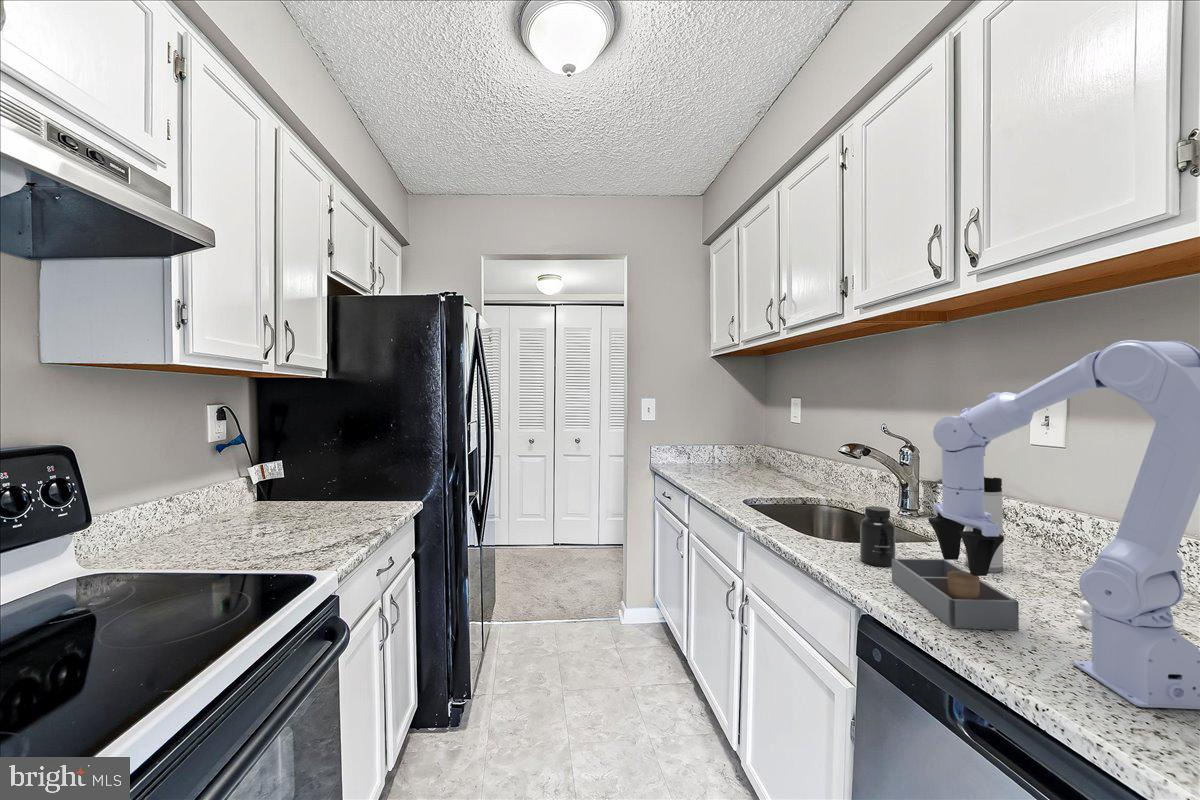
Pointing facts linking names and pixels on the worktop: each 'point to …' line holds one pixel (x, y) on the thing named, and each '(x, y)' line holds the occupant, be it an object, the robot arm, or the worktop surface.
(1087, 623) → the marshmallow
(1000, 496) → the travel mug
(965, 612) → the organiser
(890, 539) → the supplement bottle
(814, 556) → the worktop surface
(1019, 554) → the worktop surface
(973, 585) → the walnut cylinder
